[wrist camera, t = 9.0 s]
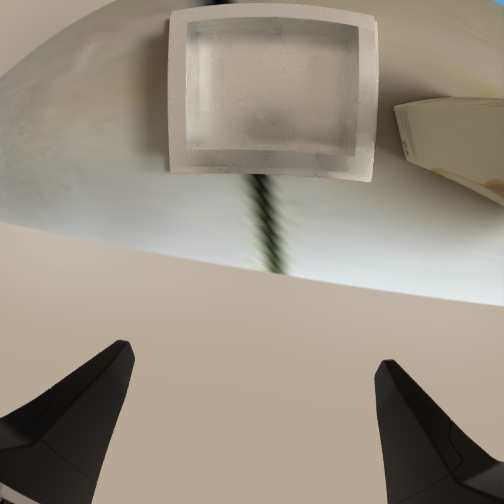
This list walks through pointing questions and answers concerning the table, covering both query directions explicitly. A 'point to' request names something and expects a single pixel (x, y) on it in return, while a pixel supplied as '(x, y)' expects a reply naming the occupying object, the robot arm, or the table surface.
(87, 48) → the table surface
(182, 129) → the square open tray
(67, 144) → the table surface
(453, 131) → the skincare box
